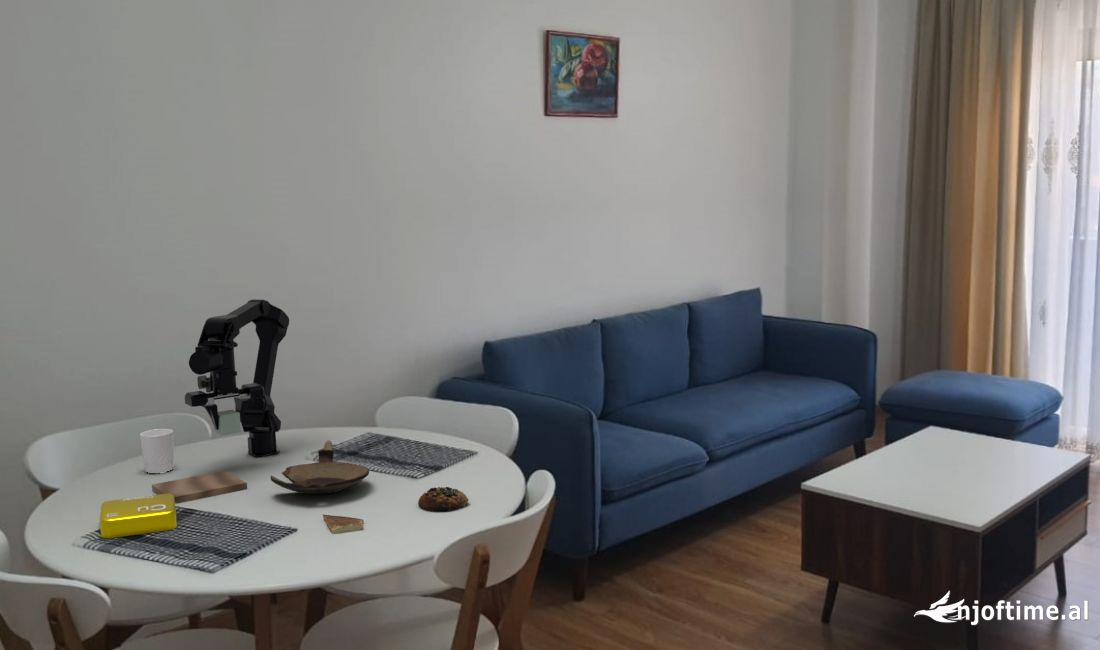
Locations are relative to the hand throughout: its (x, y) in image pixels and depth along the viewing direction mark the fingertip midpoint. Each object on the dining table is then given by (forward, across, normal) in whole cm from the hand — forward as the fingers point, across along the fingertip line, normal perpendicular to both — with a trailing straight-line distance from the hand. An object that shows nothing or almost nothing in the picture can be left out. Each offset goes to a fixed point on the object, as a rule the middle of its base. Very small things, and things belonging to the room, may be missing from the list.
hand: (227, 427), depth 268 cm
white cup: (+11, +14, -12) cm, 22 cm away
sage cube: (+1, 0, 0) cm, 1 cm away
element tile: (+12, +31, +28) cm, 43 cm away
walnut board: (+11, +12, +12) cm, 20 cm away
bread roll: (+12, -26, +61) cm, 67 cm away
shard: (+12, -1, +59) cm, 60 cm away
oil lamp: (+11, -12, +31) cm, 35 cm away
